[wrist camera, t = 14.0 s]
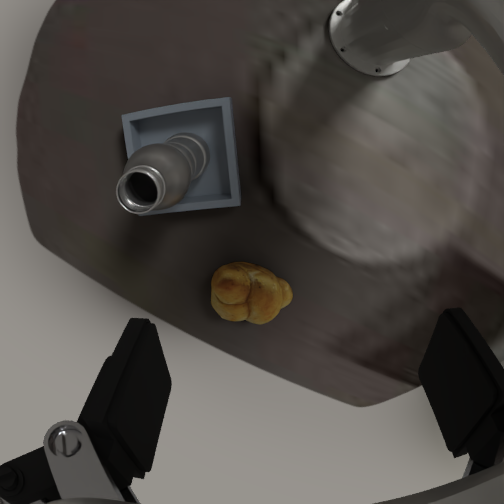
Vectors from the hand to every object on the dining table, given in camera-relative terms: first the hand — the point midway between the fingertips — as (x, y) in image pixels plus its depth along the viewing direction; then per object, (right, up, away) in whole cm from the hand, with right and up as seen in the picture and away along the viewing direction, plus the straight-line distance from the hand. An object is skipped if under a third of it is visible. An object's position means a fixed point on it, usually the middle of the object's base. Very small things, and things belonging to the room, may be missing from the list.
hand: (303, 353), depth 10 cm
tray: (-11, +17, +32) cm, 38 cm away
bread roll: (-2, -2, +41) cm, 42 cm away
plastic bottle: (-10, +16, +32) cm, 37 cm away
